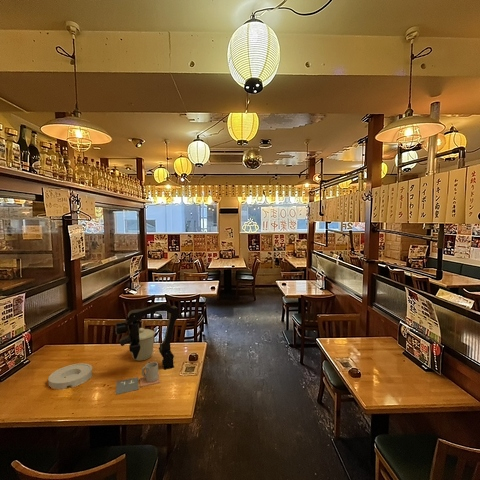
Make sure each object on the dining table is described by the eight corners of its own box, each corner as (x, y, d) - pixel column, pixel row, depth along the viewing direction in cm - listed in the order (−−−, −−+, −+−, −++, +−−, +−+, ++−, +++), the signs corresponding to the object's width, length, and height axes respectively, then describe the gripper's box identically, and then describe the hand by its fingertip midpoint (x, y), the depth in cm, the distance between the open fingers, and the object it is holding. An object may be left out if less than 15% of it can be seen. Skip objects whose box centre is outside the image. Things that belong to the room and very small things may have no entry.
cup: (155, 382, 166) (155, 368, 166) (139, 382, 167) (138, 367, 167) (160, 376, 173) (159, 362, 173) (144, 375, 174) (144, 361, 174)
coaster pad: (158, 374, 176) (158, 373, 176) (160, 382, 167) (160, 382, 167) (139, 378, 172) (139, 377, 172) (140, 387, 163) (140, 386, 163)
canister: (148, 349, 213) (146, 321, 212) (160, 356, 200) (159, 327, 199) (124, 357, 200) (122, 328, 199) (136, 366, 187) (134, 335, 186)
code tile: (138, 377, 174) (138, 376, 174) (138, 389, 161) (138, 389, 161) (116, 381, 169) (116, 381, 169) (115, 394, 156) (115, 394, 156)
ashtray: (74, 367, 189) (73, 361, 189) (101, 372, 182) (100, 366, 181) (39, 386, 168) (38, 379, 167) (68, 393, 160) (67, 386, 160)
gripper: (120, 328, 181) (121, 352, 182) (119, 339, 164) (120, 365, 165) (138, 325, 185) (139, 348, 186) (139, 335, 168) (141, 361, 169)
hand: (135, 355), depth 176 cm, fingers open, 9 cm apart
